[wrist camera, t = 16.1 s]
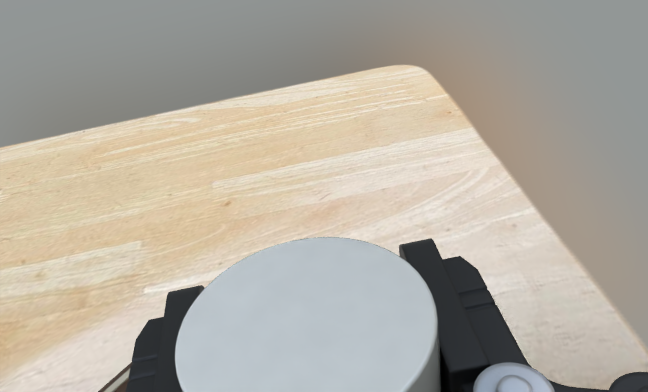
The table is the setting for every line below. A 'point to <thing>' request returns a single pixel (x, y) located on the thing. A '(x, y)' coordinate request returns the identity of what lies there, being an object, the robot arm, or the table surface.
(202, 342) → the tall white cylinder
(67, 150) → the table surface
